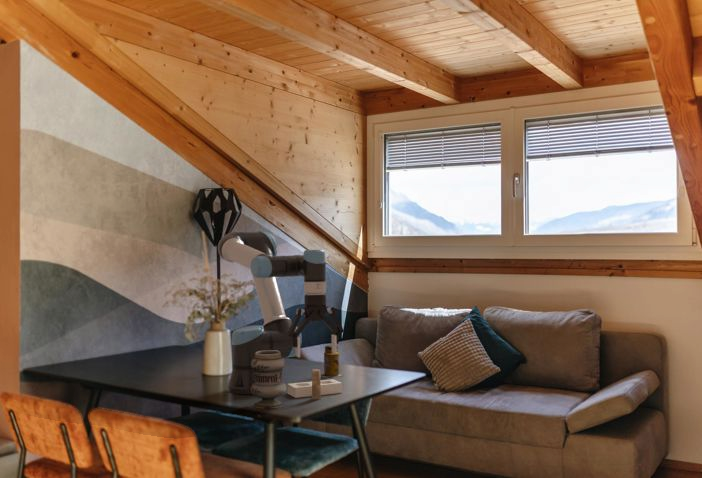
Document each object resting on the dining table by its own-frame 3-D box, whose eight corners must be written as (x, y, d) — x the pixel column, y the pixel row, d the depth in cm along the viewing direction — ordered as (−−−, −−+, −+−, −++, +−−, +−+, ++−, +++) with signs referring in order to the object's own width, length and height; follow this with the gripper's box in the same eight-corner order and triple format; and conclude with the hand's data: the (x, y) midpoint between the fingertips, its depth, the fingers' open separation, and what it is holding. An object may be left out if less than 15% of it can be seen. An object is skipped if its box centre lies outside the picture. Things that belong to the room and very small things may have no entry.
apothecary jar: (250, 410, 232) (250, 355, 232) (250, 402, 244) (249, 349, 244) (287, 408, 234) (287, 353, 234) (285, 400, 246) (284, 348, 246)
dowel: (314, 400, 246) (313, 371, 246) (310, 398, 249) (310, 369, 249) (322, 399, 248) (321, 370, 248) (318, 397, 250) (318, 369, 250)
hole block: (295, 397, 250) (295, 387, 250) (287, 393, 258) (287, 383, 258) (342, 392, 258) (342, 383, 258) (333, 388, 265) (333, 379, 265)
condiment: (343, 375, 291) (342, 346, 291) (325, 378, 286) (325, 348, 286) (333, 373, 297) (333, 344, 297) (316, 375, 292) (315, 346, 292)
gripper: (284, 296, 240) (285, 359, 240) (352, 292, 250) (353, 353, 250) (277, 294, 247) (278, 356, 246) (343, 291, 257) (344, 351, 257)
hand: (316, 355), depth 248 cm, fingers open, 13 cm apart
